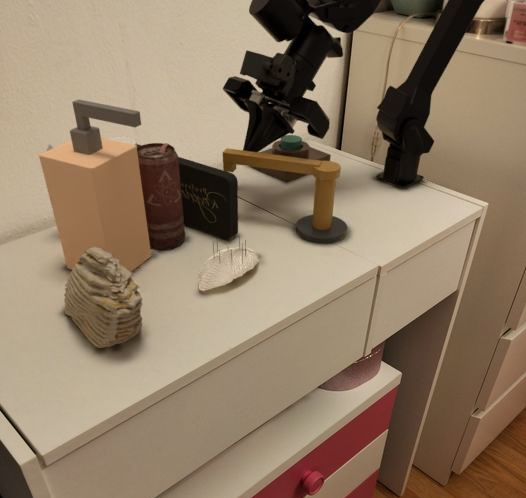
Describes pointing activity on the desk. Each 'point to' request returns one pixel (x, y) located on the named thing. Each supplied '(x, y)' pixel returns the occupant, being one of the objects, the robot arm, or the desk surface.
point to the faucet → (322, 217)
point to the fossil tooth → (103, 299)
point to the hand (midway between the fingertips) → (246, 155)
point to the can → (161, 194)
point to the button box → (304, 153)
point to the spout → (280, 163)
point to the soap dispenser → (98, 189)
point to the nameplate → (209, 198)
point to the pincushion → (226, 266)
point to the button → (291, 142)
